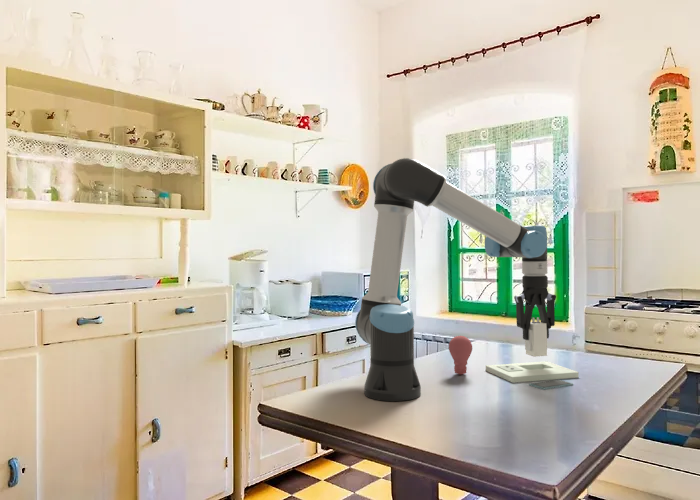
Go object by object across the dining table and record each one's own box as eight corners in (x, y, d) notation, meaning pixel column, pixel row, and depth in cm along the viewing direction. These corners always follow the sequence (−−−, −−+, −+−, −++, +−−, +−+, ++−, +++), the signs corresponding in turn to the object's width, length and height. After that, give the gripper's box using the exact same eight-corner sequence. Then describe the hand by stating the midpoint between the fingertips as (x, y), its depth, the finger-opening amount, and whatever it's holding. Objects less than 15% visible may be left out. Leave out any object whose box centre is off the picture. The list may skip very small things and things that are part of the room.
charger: (533, 356, 169) (533, 319, 169) (525, 353, 173) (525, 317, 173) (546, 355, 170) (546, 318, 170) (538, 353, 174) (538, 316, 174)
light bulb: (466, 378, 164) (466, 338, 164) (444, 375, 168) (444, 336, 168) (476, 374, 170) (476, 335, 170) (455, 371, 174) (455, 333, 174)
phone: (543, 391, 151) (543, 387, 151) (529, 387, 156) (529, 383, 156) (573, 387, 155) (573, 383, 155) (557, 382, 160) (557, 379, 160)
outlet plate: (512, 382, 159) (512, 375, 159) (485, 370, 174) (485, 364, 174) (578, 377, 164) (578, 370, 164) (547, 366, 180) (546, 360, 180)
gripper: (516, 276, 166) (517, 353, 166) (567, 274, 170) (568, 349, 170) (503, 275, 173) (504, 349, 173) (552, 273, 177) (553, 345, 178)
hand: (536, 349), depth 172 cm, fingers closed on charger, 4 cm apart
